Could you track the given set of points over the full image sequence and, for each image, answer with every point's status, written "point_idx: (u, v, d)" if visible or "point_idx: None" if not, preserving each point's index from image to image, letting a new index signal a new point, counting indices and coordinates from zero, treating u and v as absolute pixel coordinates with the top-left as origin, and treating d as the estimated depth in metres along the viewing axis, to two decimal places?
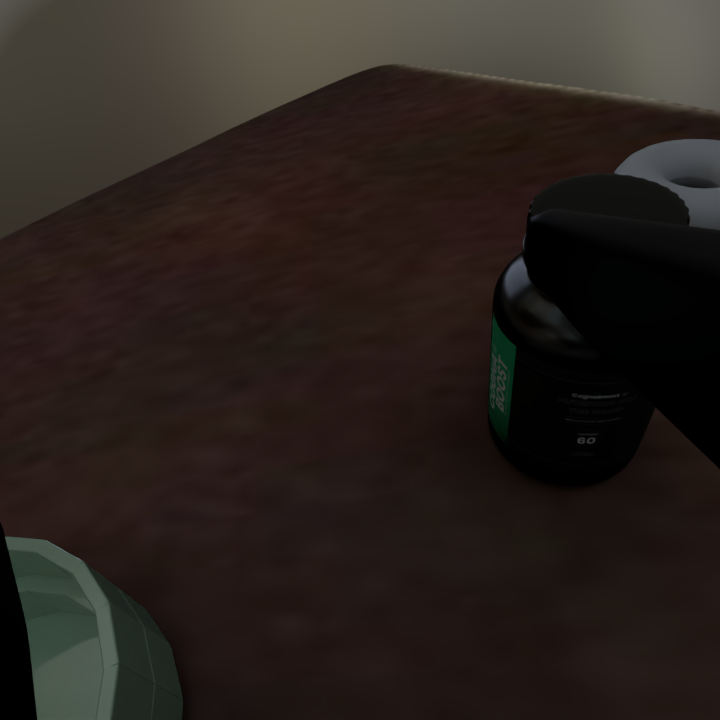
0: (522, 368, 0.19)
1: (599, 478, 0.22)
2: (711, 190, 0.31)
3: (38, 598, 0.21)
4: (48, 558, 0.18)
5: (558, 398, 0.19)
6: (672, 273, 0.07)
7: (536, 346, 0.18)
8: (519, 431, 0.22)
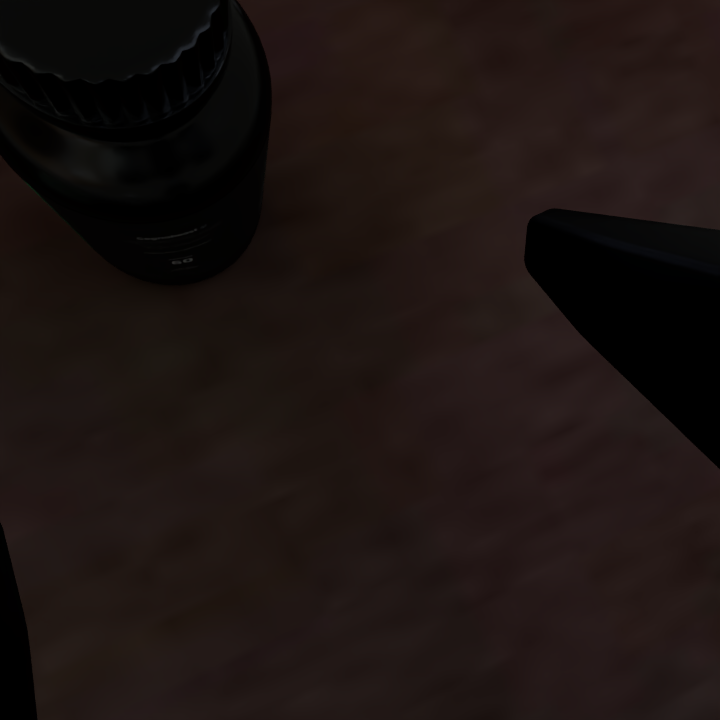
0: (57, 208, 0.13)
1: (218, 272, 0.20)
2: None
3: None
4: None
5: (122, 240, 0.14)
6: (672, 273, 0.07)
7: (53, 194, 0.12)
8: (103, 252, 0.17)
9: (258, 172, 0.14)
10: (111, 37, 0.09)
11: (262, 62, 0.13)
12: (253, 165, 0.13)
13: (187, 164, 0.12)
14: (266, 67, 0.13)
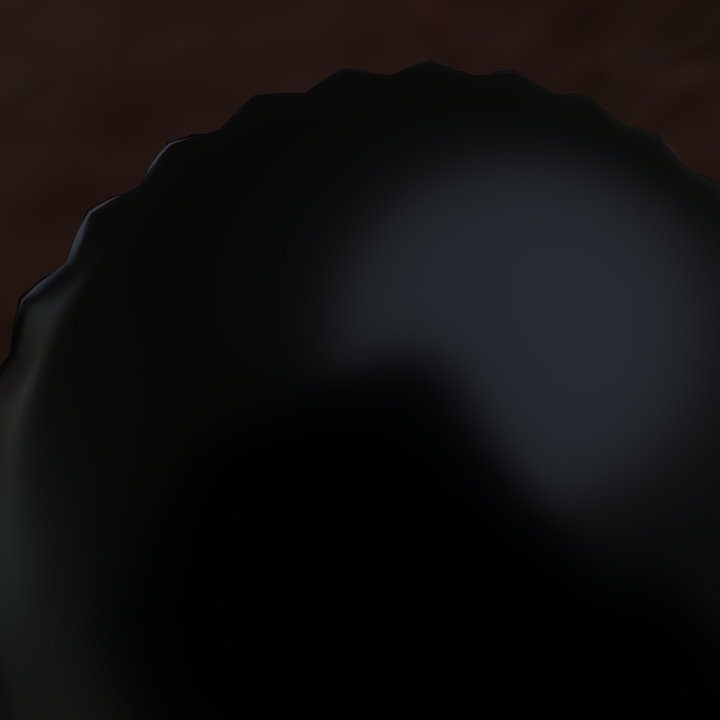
0: None
1: None
2: None
3: None
4: None
5: None
6: None
7: None
8: None
9: None
10: None
11: None
12: None
13: None
14: None
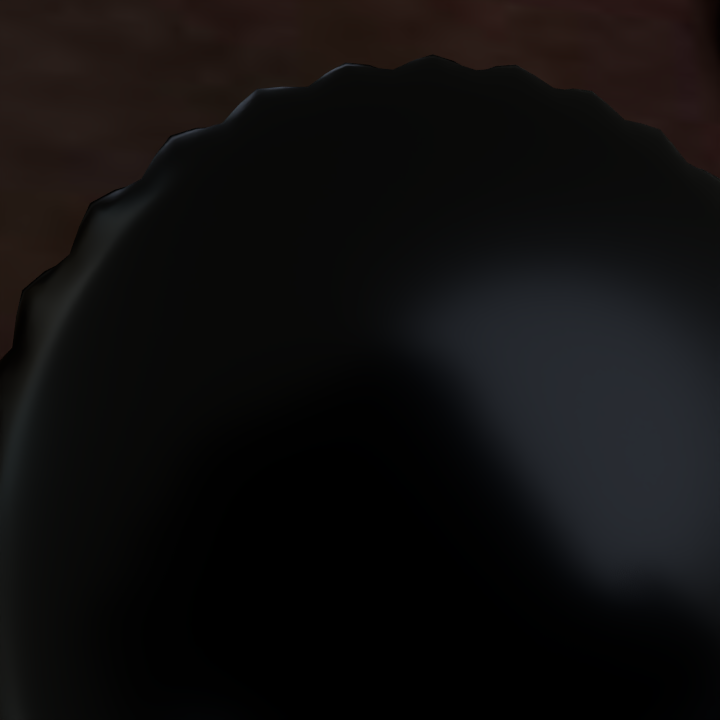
0: None
1: None
2: None
3: None
4: None
5: None
6: None
7: None
8: None
9: None
10: None
11: None
12: None
13: None
14: None
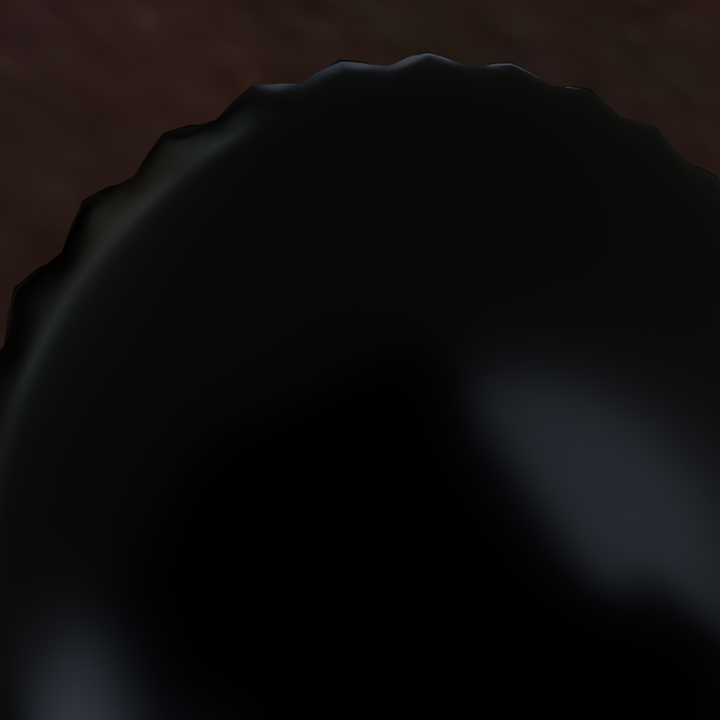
0: None
1: None
2: None
3: None
4: None
5: None
6: None
7: None
8: None
9: None
10: None
11: None
12: None
13: None
14: None
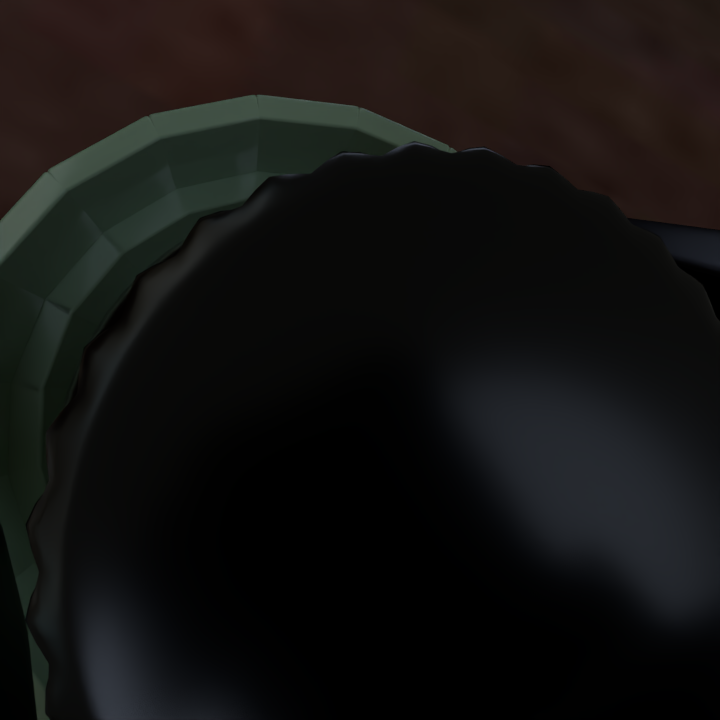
0: None
1: None
2: None
3: None
4: None
5: None
6: None
7: None
8: None
9: None
10: None
11: None
12: None
13: None
14: None
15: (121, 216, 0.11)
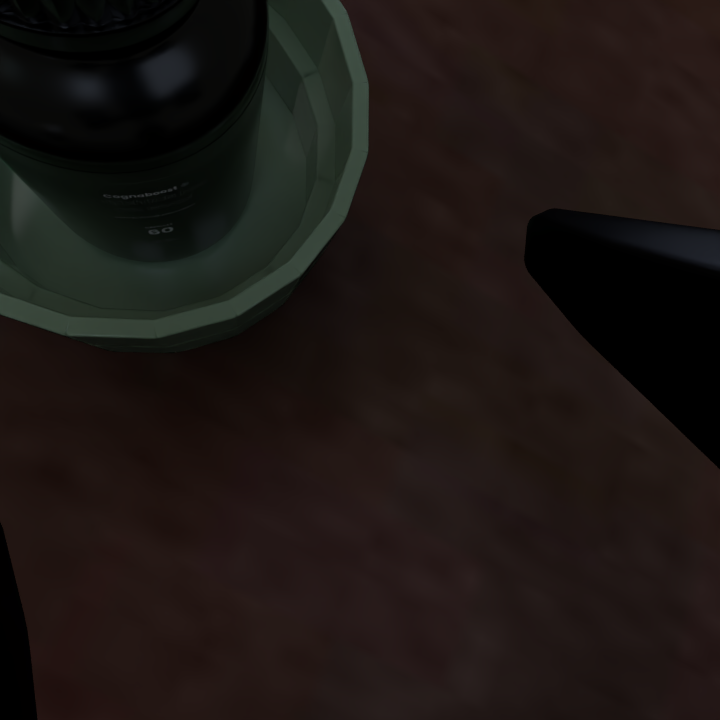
0: (3, 154, 0.11)
1: (203, 248, 0.18)
2: None
3: None
4: None
5: (86, 198, 0.12)
6: (672, 273, 0.07)
7: None
8: (67, 219, 0.14)
9: (251, 122, 0.12)
10: None
11: None
12: (246, 109, 0.11)
13: (164, 95, 0.09)
14: None
15: None
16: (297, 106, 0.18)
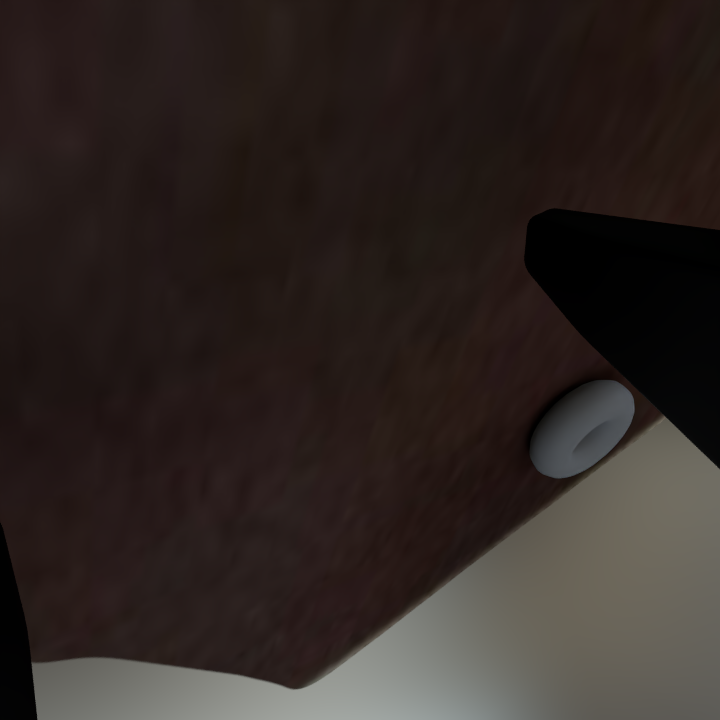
0: None
1: None
2: (577, 443, 0.41)
3: None
4: None
5: None
6: (672, 273, 0.07)
7: None
8: None
9: None
10: None
11: None
12: None
13: None
14: None
15: None
16: None
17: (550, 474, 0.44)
